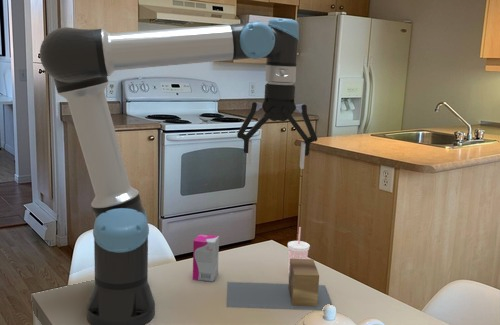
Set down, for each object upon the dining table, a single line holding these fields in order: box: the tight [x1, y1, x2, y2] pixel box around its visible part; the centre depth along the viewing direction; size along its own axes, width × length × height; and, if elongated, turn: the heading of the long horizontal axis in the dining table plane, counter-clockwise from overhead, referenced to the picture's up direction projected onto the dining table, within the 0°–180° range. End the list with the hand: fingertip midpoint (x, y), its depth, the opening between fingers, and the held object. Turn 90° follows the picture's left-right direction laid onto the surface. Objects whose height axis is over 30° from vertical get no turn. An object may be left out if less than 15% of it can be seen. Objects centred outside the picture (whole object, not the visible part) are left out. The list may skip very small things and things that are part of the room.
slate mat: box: [226, 281, 333, 311], centre depth 131 cm, size 26×14×1 cm, turn 92°
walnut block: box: [287, 258, 320, 306], centre depth 131 cm, size 10×6×8 cm, turn 2°
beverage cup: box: [287, 226, 311, 274], centre depth 144 cm, size 6×6×14 cm
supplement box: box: [192, 233, 220, 283], centre depth 139 cm, size 6×6×12 cm
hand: (275, 166), depth 134 cm, fingers open, 13 cm apart
